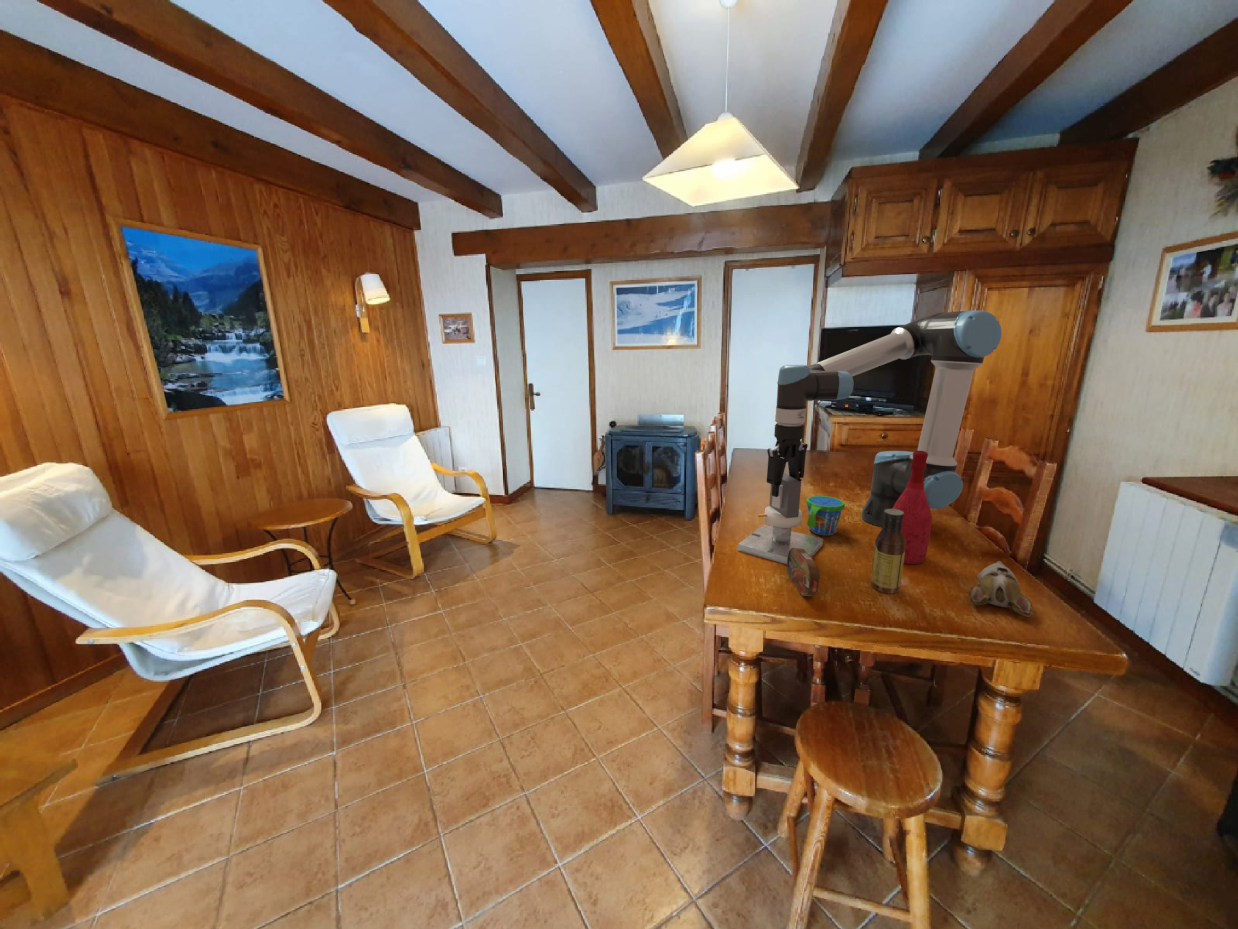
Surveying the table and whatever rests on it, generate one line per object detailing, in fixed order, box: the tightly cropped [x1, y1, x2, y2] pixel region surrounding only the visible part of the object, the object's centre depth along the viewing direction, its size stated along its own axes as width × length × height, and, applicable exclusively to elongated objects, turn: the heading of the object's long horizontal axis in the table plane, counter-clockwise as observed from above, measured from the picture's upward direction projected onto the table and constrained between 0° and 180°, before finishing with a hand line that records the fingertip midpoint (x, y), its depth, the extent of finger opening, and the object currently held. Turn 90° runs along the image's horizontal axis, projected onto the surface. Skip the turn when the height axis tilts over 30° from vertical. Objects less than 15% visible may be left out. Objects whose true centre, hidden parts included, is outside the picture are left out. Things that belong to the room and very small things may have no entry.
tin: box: [786, 548, 821, 597], centre depth 113 cm, size 15×3×8 cm, turn 178°
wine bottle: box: [892, 450, 933, 565], centre depth 123 cm, size 10×10×30 cm
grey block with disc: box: [757, 472, 803, 529], centre depth 131 cm, size 12×10×13 cm
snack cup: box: [805, 495, 846, 537], centre depth 144 cm, size 16×10×10 cm
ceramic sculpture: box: [969, 560, 1032, 618], centre depth 104 cm, size 11×9×15 cm
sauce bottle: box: [870, 509, 906, 594], centre depth 110 cm, size 7×6×20 cm
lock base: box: [737, 524, 824, 565], centre depth 134 cm, size 18×18×8 cm
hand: (783, 504), depth 131 cm, fingers closed on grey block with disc, 5 cm apart
